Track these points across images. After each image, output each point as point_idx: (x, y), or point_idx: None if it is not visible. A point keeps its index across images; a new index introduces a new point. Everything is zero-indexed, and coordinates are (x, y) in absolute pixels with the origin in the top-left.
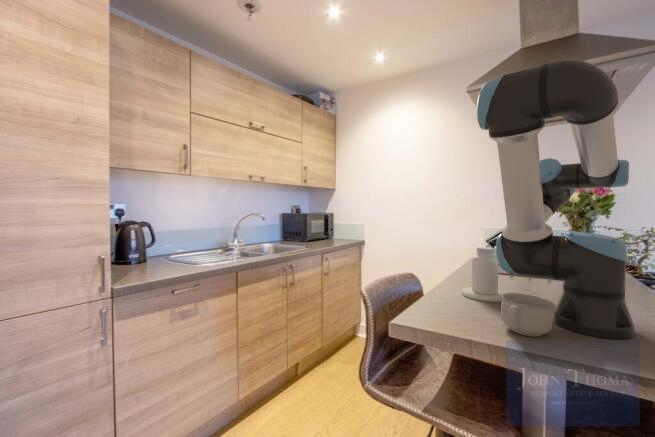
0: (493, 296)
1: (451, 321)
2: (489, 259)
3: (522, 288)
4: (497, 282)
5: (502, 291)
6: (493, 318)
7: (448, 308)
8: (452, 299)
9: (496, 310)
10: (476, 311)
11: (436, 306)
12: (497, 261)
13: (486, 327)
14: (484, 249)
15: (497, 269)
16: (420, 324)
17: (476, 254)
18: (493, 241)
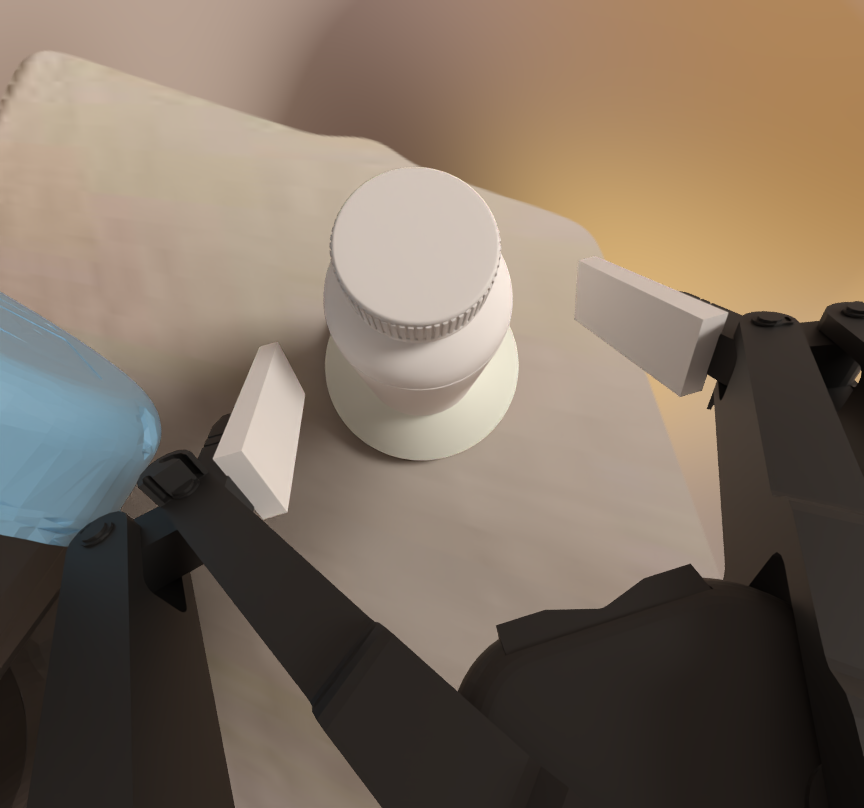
0: (353, 384)
1: (74, 200)
2: (326, 302)
3: (621, 586)
4: (387, 402)
5: (456, 447)
6: (124, 334)
7: (209, 206)
8: (330, 233)
9: (218, 366)
10: (192, 293)
11: (224, 169)
12: (269, 348)
13: (34, 293)
14: (335, 222)
15: (373, 386)
16: (34, 114)
17: (599, 261)
18: (737, 370)
